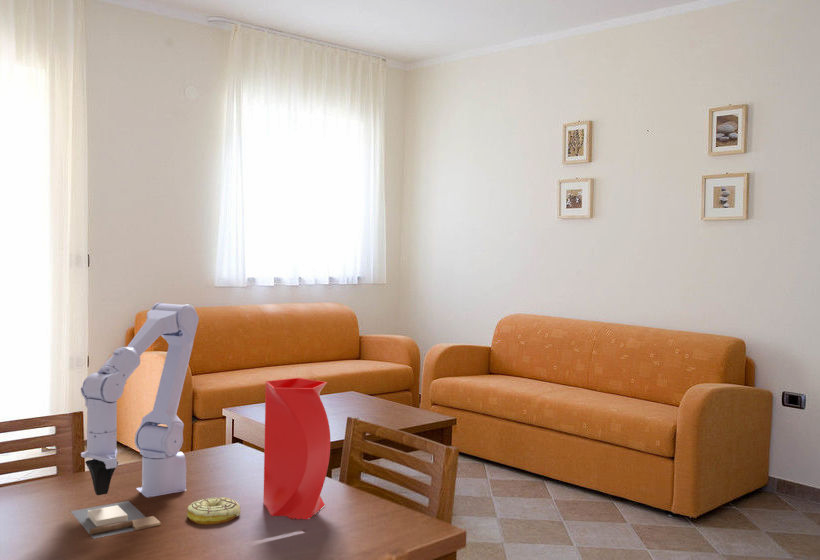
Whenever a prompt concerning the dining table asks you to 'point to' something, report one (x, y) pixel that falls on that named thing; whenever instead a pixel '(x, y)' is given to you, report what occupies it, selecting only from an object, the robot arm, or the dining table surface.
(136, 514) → the mat
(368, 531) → the dining table surface
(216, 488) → the dining table surface
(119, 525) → the turner
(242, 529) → the dining table surface
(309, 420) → the vase
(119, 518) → the tile
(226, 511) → the decorated donut
